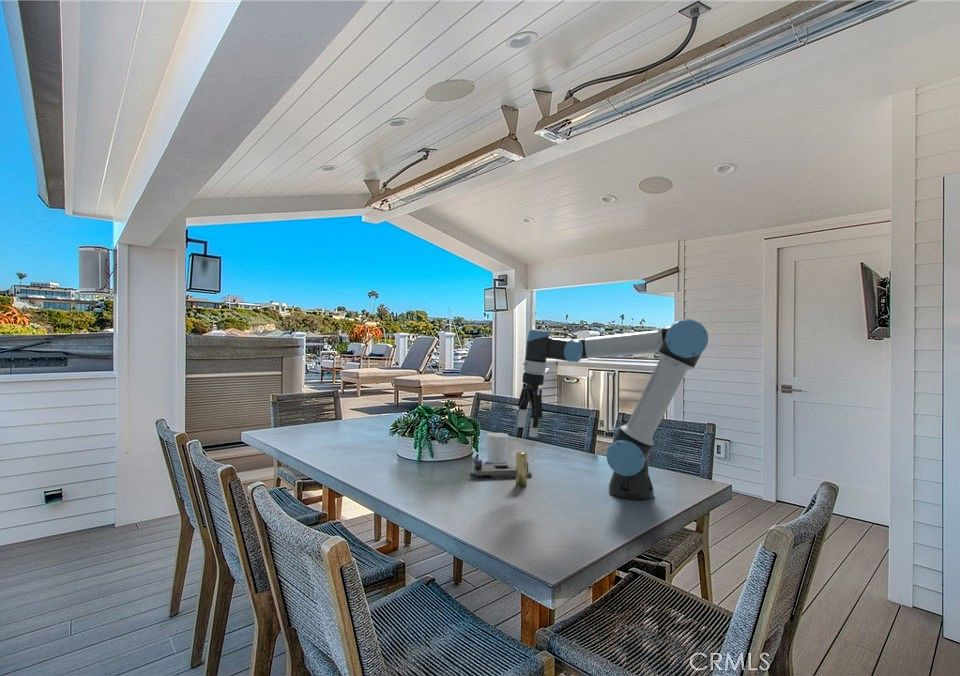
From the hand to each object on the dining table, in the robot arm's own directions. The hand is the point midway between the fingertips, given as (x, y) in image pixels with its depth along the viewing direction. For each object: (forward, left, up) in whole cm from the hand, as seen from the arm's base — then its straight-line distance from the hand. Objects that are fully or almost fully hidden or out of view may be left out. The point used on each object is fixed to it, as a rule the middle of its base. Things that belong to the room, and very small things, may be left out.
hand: (526, 431), depth 172 cm
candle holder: (+1, -43, -21) cm, 48 cm away
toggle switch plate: (+4, -22, -21) cm, 30 cm away
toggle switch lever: (0, -7, -21) cm, 22 cm away
